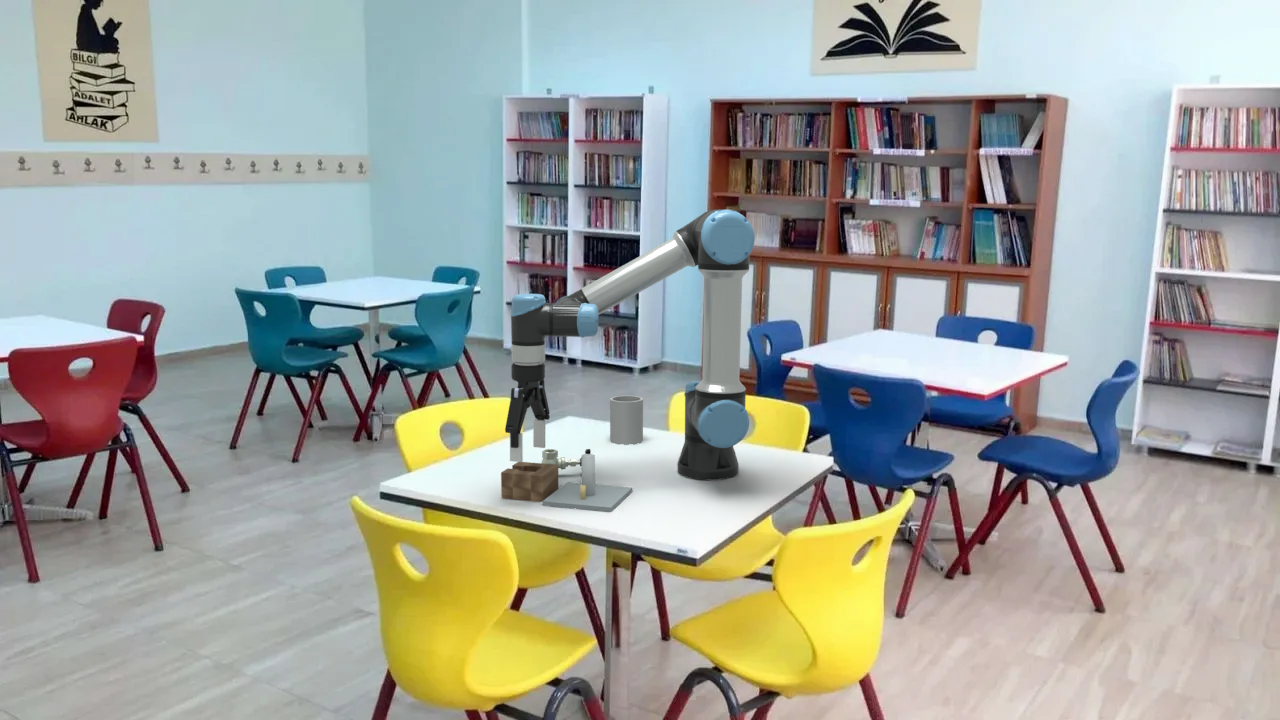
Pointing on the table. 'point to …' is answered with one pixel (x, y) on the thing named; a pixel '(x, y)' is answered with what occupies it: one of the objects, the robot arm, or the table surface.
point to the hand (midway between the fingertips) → (528, 454)
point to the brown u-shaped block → (529, 481)
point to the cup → (626, 420)
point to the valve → (551, 458)
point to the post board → (590, 502)
